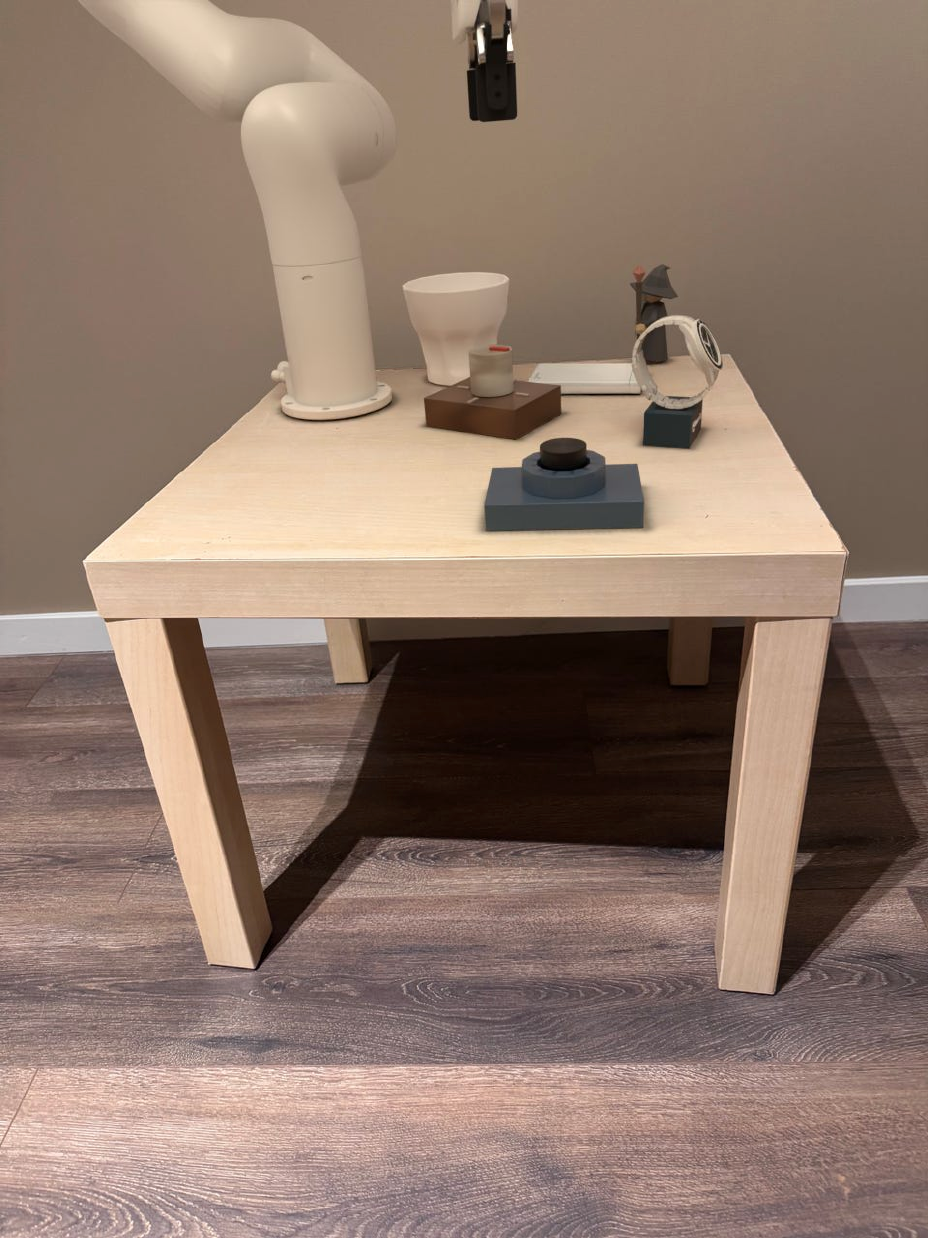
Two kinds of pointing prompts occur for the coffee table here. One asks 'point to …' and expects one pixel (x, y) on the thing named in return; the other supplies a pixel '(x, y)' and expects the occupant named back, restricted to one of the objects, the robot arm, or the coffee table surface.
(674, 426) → the watch
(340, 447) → the coffee table surface
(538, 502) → the button box
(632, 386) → the hard drive
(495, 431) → the brown wooden block
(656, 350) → the wizard figurine
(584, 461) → the button
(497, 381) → the knob
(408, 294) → the cup
